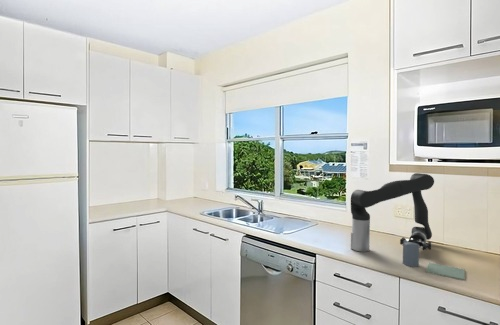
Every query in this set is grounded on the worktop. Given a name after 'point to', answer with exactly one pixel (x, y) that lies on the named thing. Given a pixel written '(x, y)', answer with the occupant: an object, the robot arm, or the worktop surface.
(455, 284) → the worktop surface
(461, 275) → the mat
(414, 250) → the grey octagonal prism
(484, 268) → the worktop surface
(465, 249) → the worktop surface
